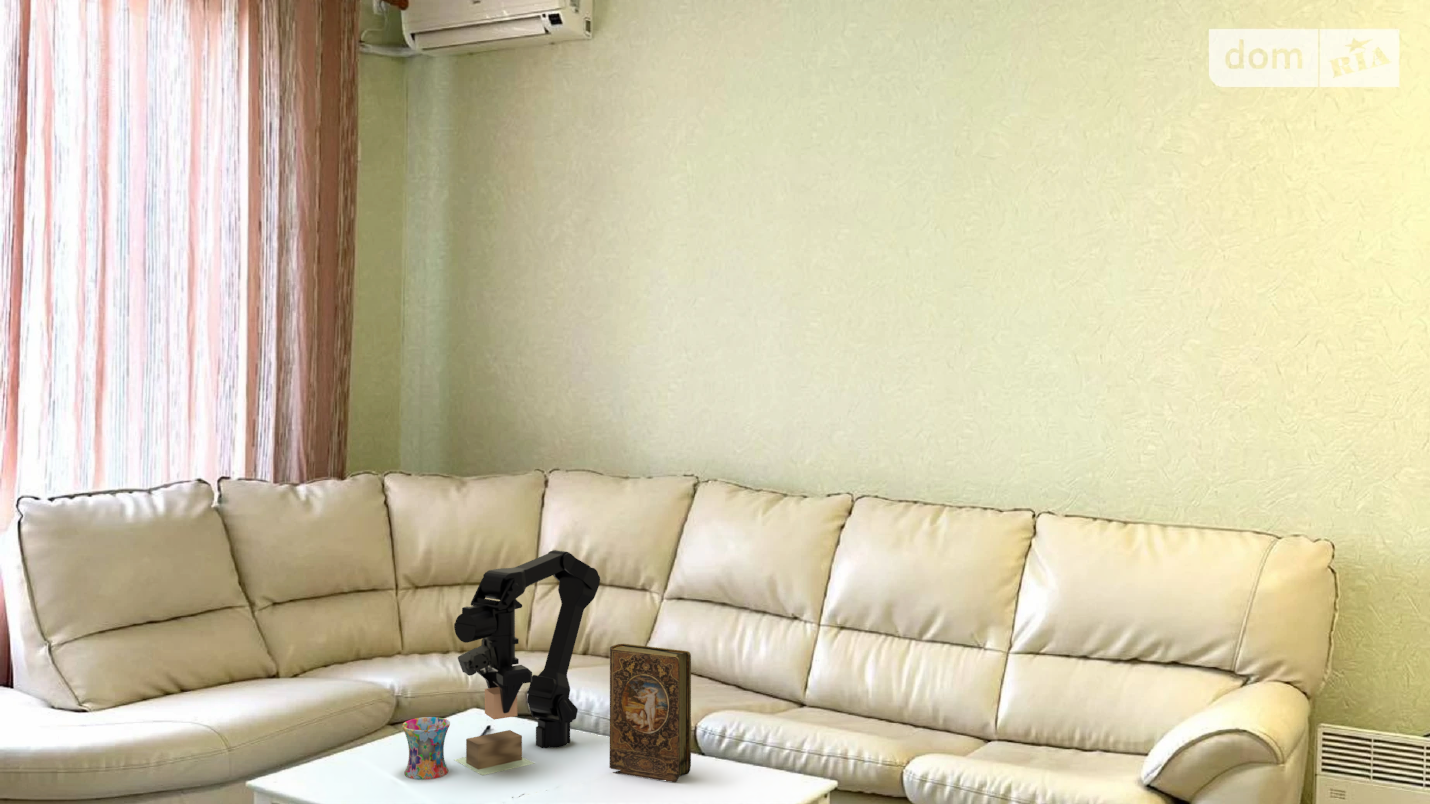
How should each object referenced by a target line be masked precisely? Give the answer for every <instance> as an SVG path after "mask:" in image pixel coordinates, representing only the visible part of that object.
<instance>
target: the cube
mask: <svg viewBox="0 0 1430 804" xmlns="http://www.w3.org/2000/svg"><path fill="white" fill-rule="evenodd" d="M484 715H486V716H488V717H490V718H491V719H492V720H501V719H506V718H513V717H518V695H517V696H516V698H515V700H514V702H513V704H512V706H511V709H510V711H509V712H508V713H503V709H502V703H501V695H500V689H499V687H496V688H489V689H488V688H484Z"/></svg>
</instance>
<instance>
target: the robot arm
mask: <svg viewBox="0 0 1430 804" xmlns="http://www.w3.org/2000/svg"><path fill="white" fill-rule="evenodd" d="M552 576H553V577H554V579H556V580H557V582H558V588H557V589H558V594H559V595H558V596H559V599H560V602H561V603H560V608H559V609H560V610H559V612H558V616H557V619H556V623H555V628H554V630H553V635H552V638H551V641H550V645H549V649H548V653H547V657H546V661H545V664H544V667H543V669H542V670H541V672H539V674H537V675H536V674H533V672H532V670H531V669H529V668H528V667H526V666H525V665H523V664H519V658H517V657H516V645H519V644H520V643H519V642H520V641H519V638H518V637H516V610H518V609H522V608H523V604H522V603H521V602H520V601H518V600H517V598H520V596H522V595H523V594H525V591H526V589H527V588H528V587H530V586H531V585H534V584H536V583H538V582H541V581H543V580H544V579H548V578H549V577H552ZM600 583H601V576H600V575H599V573H598V570H597V569H596V568H595V567H591V566H590V565H588V564H587V563H585V562H584V561H582V560H580V559H578V558H576V557H575V556H574V555H573V554H572V553H571V552H569V551H564V550H557V549H553V550H551V551H548V553H546V554H544V555H542V556H538V557H537V558H534V559H531V560H529V561H527V562H525V563H522V564H520V565H517V566H515V567H506V568H505V567H504V568H501V567H500V568H494V569H489V570H487V571H485V572H484V574H483V577H482V578H481V580H480V582H479V585H478V587H477V589H476V590H475V593H474V595H473V597H472V600H471V601H470V606H464V607H463V606H462V608H461V614H458V616H457V618H455V623H454V625H453V630H454V633H455V636H456V637H457V639H458V640H459V641H460V642H461V643H464V644H465V643H471V642H475V641H480V640H481V645H480V646H478V647H475V648H473V649H470V650H468V651H467V652H465V653H464V652H463V653H462V654H461V655H458V657H457V660H458V663H459V666H460V668H461V671H462V673H465V674H466V676H473V675H476V674H478V675H480V676H481V677H482V678H483V679H484V680H485V682H486V685H487V686H486V687H487V689H489V688H496V687H499V689H500V695H501V703H502V709H503V713H508V712H509V711H510V709H511V706H512V704H513V702H514V700H515V698H516V696H517V697H518V694H519V692H520V690H521V688H522V686H523V684H529V687H528V688H527V691H526V695H527V697H526V698H527V699H526V703H527V704H528V708H529V711H530V714H531V717H532V718H533V719H534V718H535V719H536V718H537V726H536V727H535V746H536V747H538V748H541V749H549V748H550V749H551V748H552V749H554V748H556V749H557V748H562V747H565V746H567V745H568V744H571V723H573V721H575V720H576V719H577V715H578V711H579V709H578V707H577V706H576V705H575V704H574V703H573V702H572V701H571V699H570V694H571V687H570V682H569V679H568V671H569V668H570V663H571V660H572V656H573V652H574V649H575V644H576V642H577V637H578V633H579V628H580V626H581V623H582V618H583V614H584V611H585V609H586V608H587V607H588V606H589V605H590V604H591V602H592V601H594V599H595V598H596V595H597V593H598V589H599V586H600Z"/></svg>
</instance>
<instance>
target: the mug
mask: <svg viewBox="0 0 1430 804" xmlns="http://www.w3.org/2000/svg"><path fill="white" fill-rule="evenodd" d="M450 725H451V721H449V719H447V718H444V717H438V716H436V717H435V716H425V717H424V716H423V717H416V718H412V719H408V720H406V721H404V722H403V723H402V725H401V727H402V729H403V733H404V734H405V738H406V739H407V740H406V741H407V744H408V745H407V746H408V761H407V766H406V767H405V770H404V775H405V777H406V778H408V779H412V780H421V781H423V780H433V779H438V778H441V777H444V776H445V775H447V774H448V773H449V768H448V766H447V764H446V761H445V753H444V747H445V740H446V737H447V733H448V729H449V728H450Z"/></svg>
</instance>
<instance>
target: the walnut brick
mask: <svg viewBox="0 0 1430 804" xmlns="http://www.w3.org/2000/svg"><path fill="white" fill-rule="evenodd" d="M465 742H466V744H465V745H466V746H465V749H466V750H465V751H466V753H465V754H466V755H465V757H466V763H467V764H469V765H471V766H473V767H474V768H476V769H483V768H487V767H492V766H496V765H501V764H505V763H510V762H515V761H519V760H522V757H523V736H522V734H520V733H517V732H515V731H513V730H511V729H509V730H508V729H507V730H502V731H498V732H493V733H488V734H483V735H478V736H474V737H468V738H466V740H465Z"/></svg>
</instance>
